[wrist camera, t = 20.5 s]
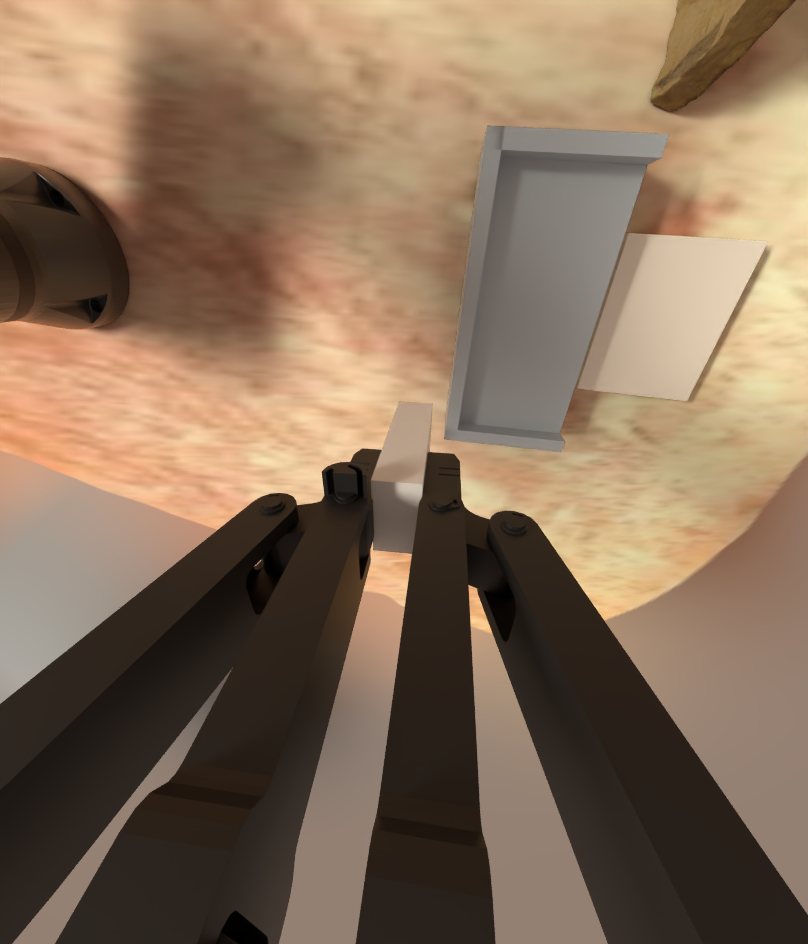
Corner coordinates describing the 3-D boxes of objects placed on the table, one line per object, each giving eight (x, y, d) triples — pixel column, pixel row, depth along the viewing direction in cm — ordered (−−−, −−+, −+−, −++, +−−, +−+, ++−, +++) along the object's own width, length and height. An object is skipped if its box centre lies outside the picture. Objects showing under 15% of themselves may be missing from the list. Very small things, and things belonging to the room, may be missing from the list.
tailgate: (577, 388, 38) (686, 401, 36) (628, 232, 31) (768, 241, 29) (574, 385, 39) (681, 397, 37) (623, 233, 32) (758, 242, 30)
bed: (445, 414, 42) (444, 439, 36) (480, 152, 30) (487, 125, 24) (545, 424, 42) (561, 452, 36) (625, 160, 29) (669, 134, 23)
